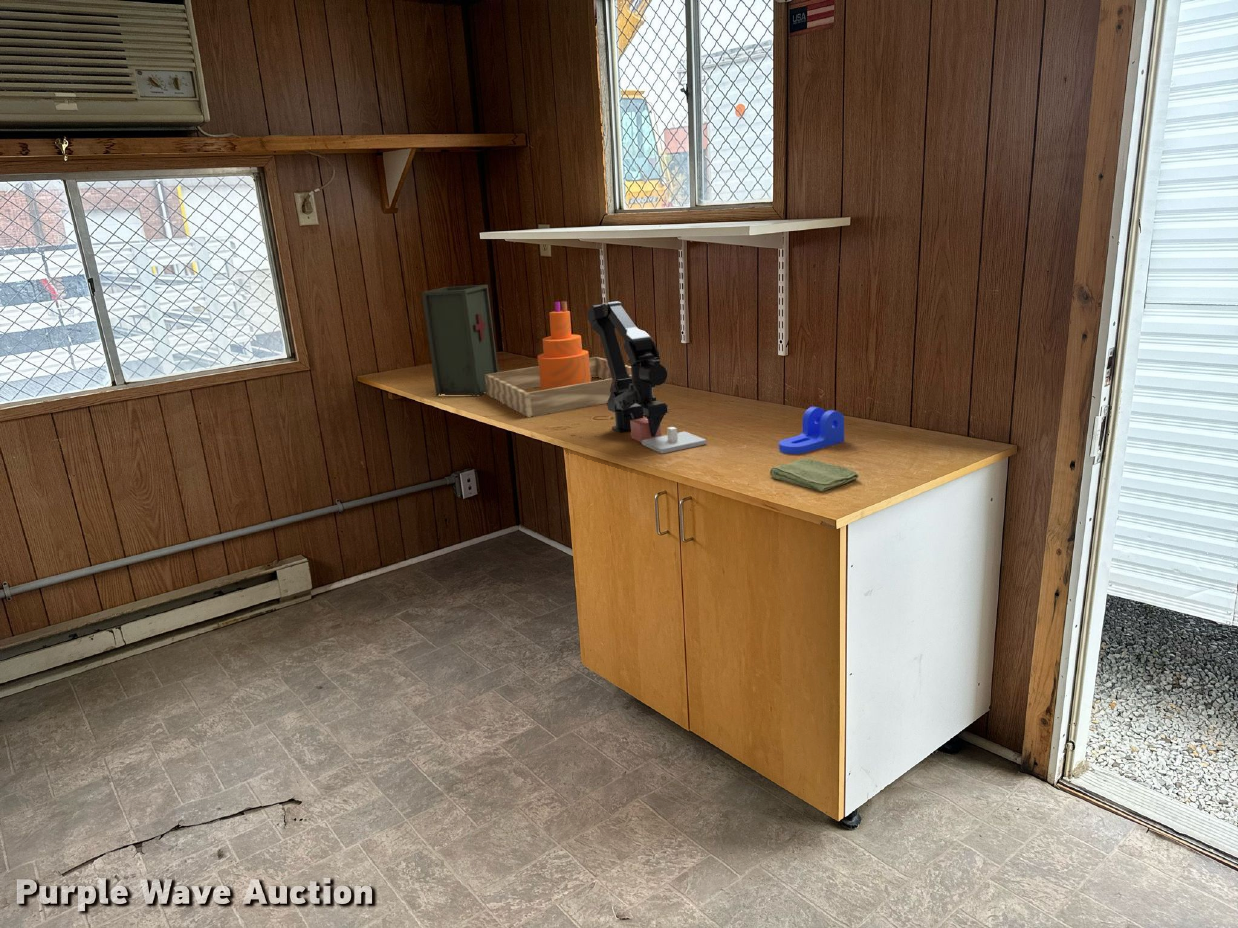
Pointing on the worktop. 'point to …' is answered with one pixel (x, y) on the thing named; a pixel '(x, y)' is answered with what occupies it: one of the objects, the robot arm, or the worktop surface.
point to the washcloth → (813, 474)
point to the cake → (562, 354)
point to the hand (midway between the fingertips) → (645, 433)
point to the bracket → (816, 432)
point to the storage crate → (549, 390)
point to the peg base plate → (673, 441)
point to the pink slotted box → (642, 429)
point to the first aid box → (460, 338)
